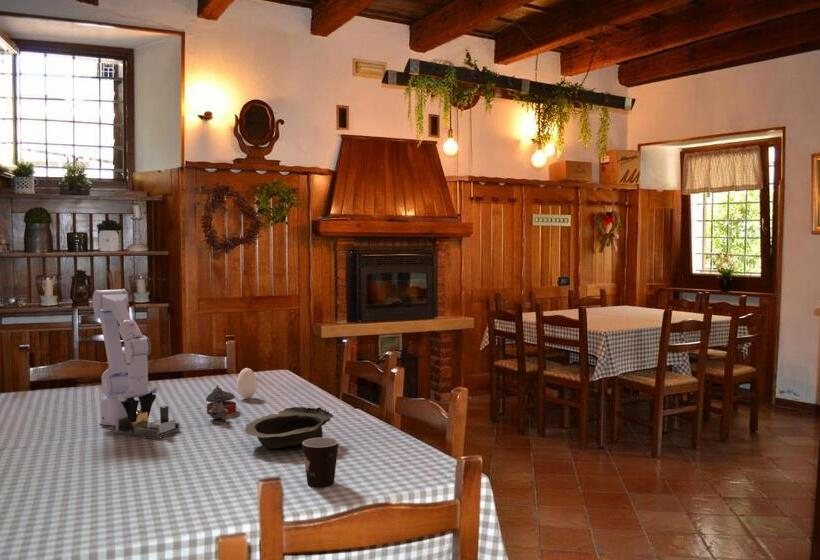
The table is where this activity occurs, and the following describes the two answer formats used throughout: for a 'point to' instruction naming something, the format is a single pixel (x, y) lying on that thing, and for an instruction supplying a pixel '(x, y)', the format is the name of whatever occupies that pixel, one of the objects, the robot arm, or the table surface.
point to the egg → (246, 383)
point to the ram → (163, 421)
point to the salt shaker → (217, 407)
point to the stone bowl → (289, 426)
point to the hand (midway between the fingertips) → (138, 419)
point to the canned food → (223, 402)
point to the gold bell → (140, 420)
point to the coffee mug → (320, 461)
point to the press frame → (140, 429)
